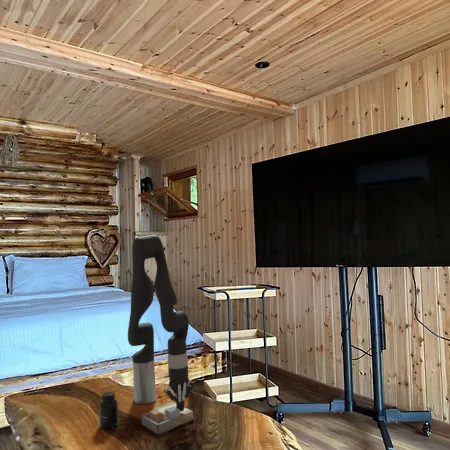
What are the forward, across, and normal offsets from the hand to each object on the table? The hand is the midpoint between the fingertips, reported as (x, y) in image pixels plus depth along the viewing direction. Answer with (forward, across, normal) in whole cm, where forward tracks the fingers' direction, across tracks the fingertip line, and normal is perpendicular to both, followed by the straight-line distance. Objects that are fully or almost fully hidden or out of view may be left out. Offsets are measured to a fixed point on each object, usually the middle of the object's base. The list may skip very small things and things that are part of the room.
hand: (180, 410), depth 158 cm
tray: (+4, +9, -3) cm, 10 cm away
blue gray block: (+1, +4, 0) cm, 4 cm away
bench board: (+4, 0, -5) cm, 6 cm away
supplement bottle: (+4, +21, -17) cm, 27 cm away
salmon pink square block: (+1, +7, -5) cm, 9 cm away
